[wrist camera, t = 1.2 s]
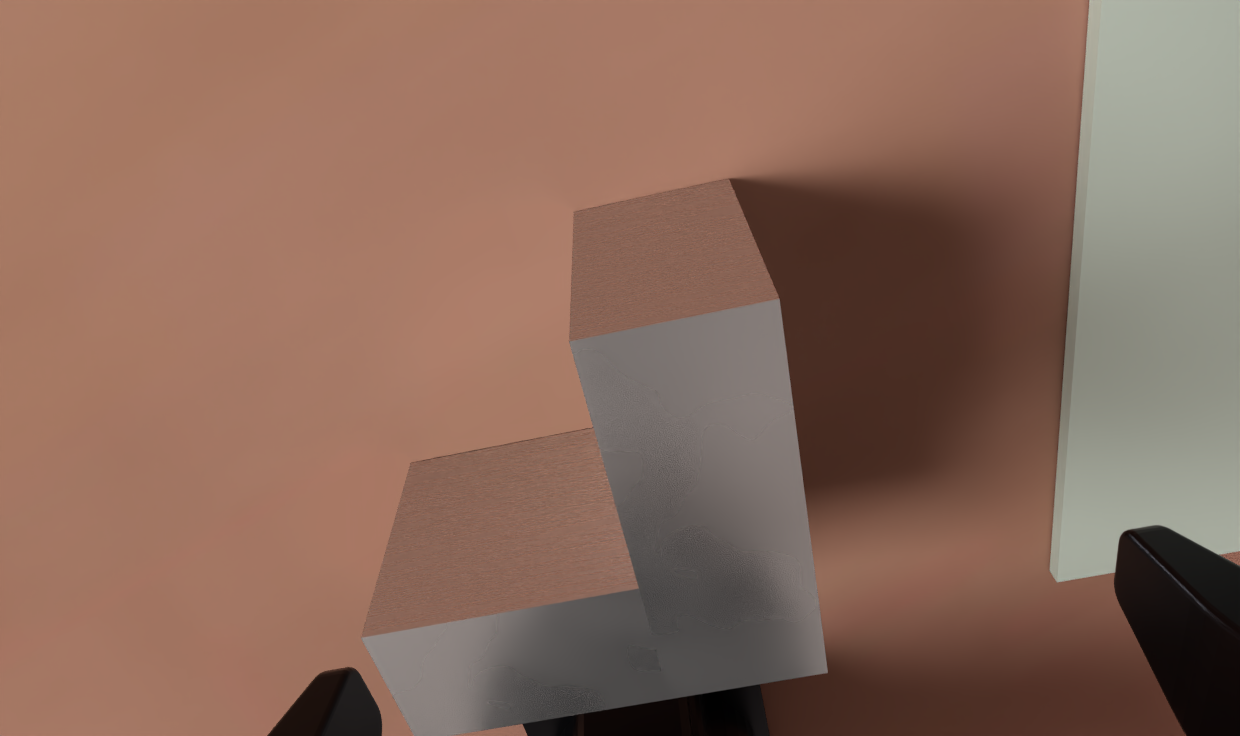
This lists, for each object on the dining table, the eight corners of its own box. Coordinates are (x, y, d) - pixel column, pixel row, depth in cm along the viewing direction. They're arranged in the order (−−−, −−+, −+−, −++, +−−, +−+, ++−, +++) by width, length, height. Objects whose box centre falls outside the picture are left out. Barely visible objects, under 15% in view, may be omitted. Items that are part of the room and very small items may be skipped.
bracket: (777, 498, 20) (827, 672, 16) (451, 558, 21) (417, 741, 17) (728, 178, 16) (779, 298, 12) (325, 265, 17) (236, 409, 13)
